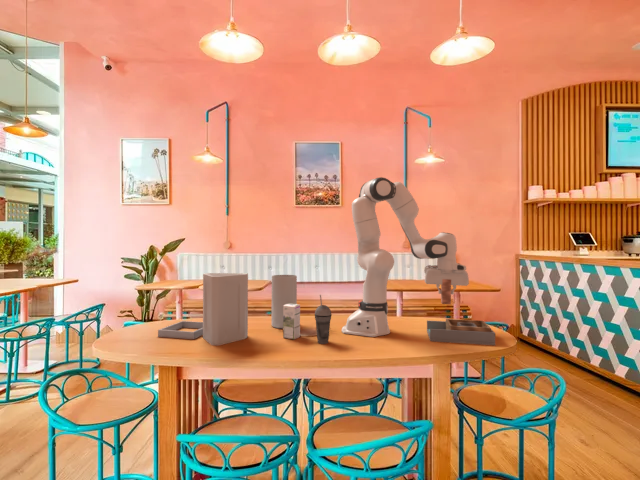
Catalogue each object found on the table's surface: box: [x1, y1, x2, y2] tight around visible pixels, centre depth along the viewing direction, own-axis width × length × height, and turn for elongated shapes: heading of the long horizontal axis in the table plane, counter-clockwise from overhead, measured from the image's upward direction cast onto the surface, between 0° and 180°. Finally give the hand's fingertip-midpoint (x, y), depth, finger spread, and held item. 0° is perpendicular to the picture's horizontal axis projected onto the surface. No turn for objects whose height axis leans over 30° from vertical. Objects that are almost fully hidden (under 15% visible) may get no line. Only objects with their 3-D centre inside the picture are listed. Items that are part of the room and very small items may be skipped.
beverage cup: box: [314, 294, 333, 345], centre depth 145 cm, size 7×7×20 cm
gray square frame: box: [157, 320, 203, 340], centre depth 159 cm, size 18×18×3 cm
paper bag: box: [202, 272, 249, 346], centre depth 148 cm, size 19×15×28 cm
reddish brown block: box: [440, 279, 452, 305], centre depth 169 cm, size 4×4×12 cm
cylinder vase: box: [271, 274, 298, 329], centre depth 173 cm, size 12×12×25 cm
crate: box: [445, 318, 492, 332], centre depth 152 cm, size 16×14×5 cm
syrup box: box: [282, 303, 301, 340], centre depth 152 cm, size 6×6×14 cm
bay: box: [426, 320, 496, 346], centre depth 153 cm, size 26×17×5 cm
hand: (446, 293), depth 169 cm, fingers closed on reddish brown block, 4 cm apart
